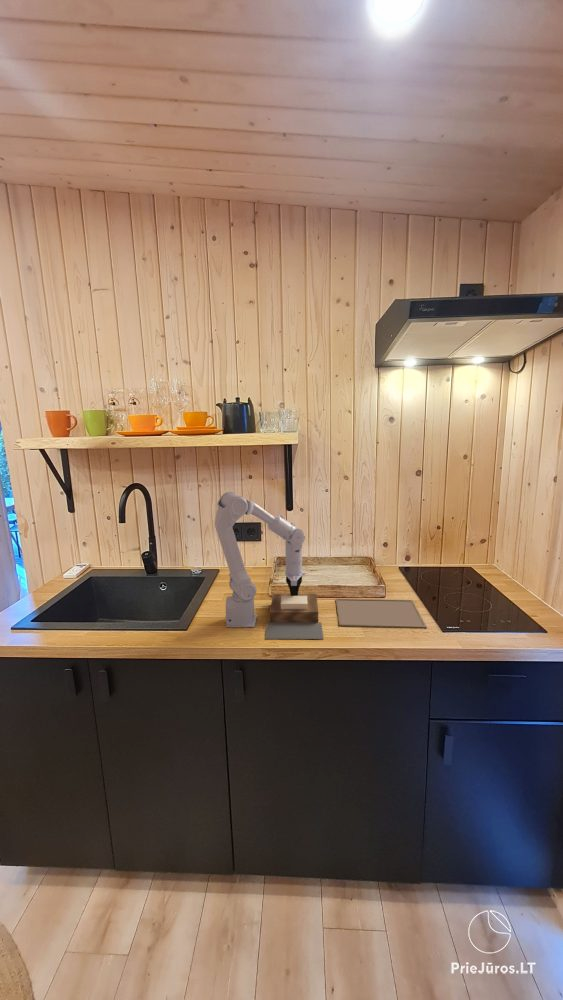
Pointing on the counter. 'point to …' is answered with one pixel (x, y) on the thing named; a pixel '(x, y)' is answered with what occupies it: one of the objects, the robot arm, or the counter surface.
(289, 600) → the beige rectangular block
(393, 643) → the counter surface
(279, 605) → the brown wooden flat block
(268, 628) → the mat
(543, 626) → the counter surface
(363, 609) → the taupe placemat
